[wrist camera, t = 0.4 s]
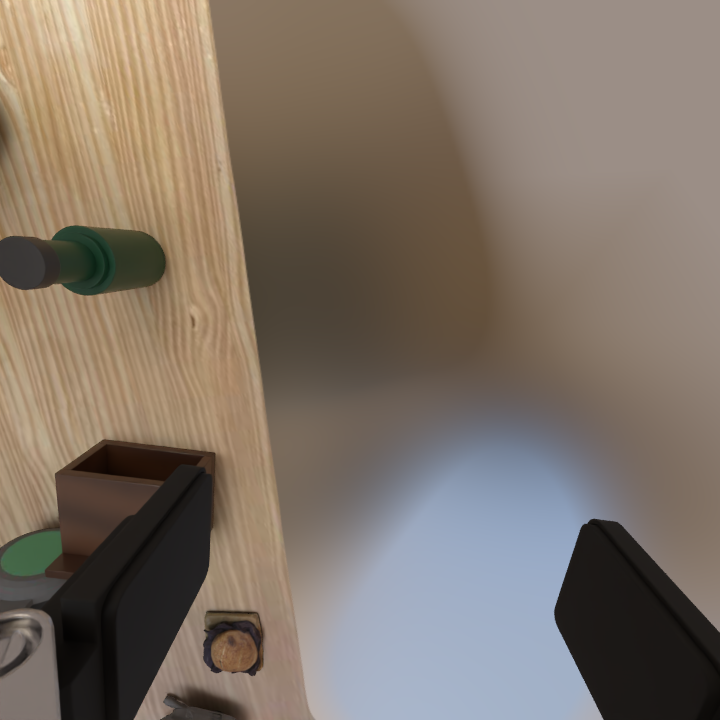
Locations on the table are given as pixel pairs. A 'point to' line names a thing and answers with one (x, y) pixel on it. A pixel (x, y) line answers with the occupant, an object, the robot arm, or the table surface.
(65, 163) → the table surface
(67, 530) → the box
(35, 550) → the headphones
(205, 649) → the bread roll
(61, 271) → the bottle
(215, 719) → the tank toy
